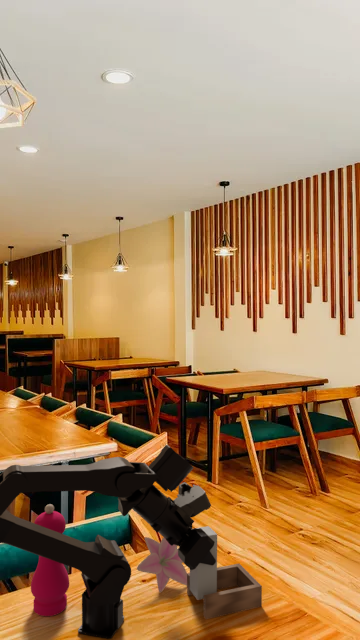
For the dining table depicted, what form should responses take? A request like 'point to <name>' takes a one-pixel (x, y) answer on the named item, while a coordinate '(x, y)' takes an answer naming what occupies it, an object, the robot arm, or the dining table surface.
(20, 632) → the dining table surface
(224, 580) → the bay
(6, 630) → the dining table surface
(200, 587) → the tall grey pillar block
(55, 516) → the pepper mill
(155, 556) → the lily
